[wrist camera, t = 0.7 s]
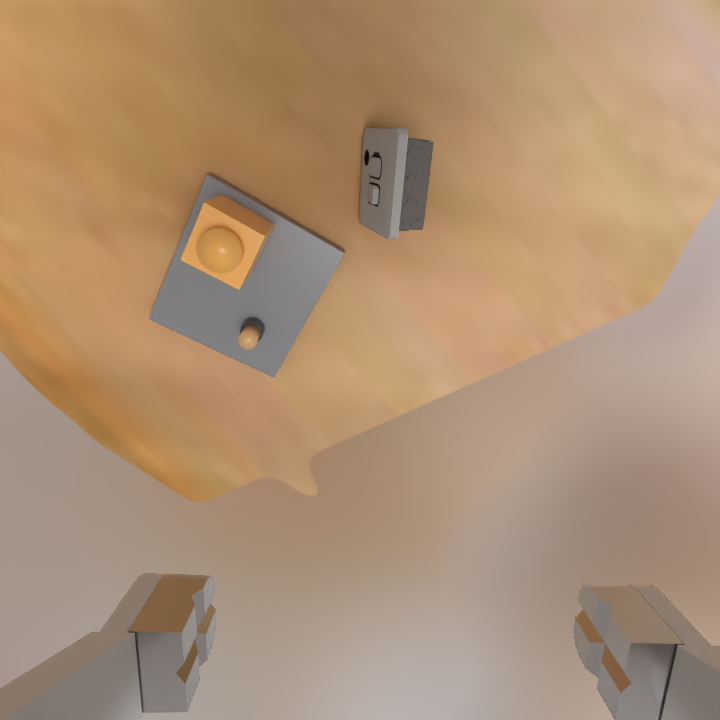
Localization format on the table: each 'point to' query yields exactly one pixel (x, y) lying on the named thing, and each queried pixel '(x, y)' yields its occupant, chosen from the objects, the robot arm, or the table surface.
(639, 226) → the table surface
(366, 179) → the electrical switch
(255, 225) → the orange knobbed cube
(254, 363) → the board
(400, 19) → the table surface
